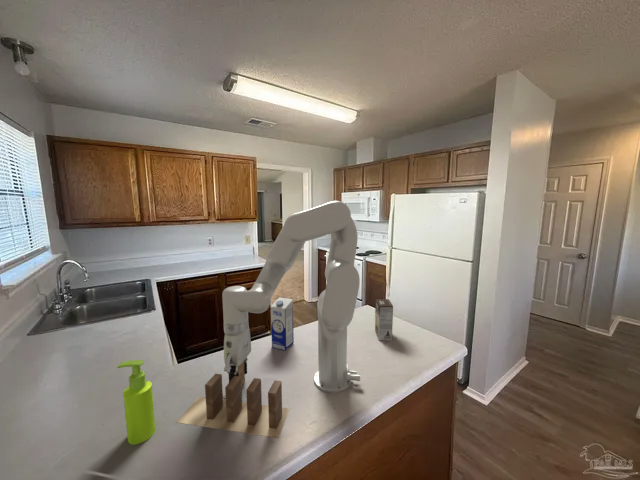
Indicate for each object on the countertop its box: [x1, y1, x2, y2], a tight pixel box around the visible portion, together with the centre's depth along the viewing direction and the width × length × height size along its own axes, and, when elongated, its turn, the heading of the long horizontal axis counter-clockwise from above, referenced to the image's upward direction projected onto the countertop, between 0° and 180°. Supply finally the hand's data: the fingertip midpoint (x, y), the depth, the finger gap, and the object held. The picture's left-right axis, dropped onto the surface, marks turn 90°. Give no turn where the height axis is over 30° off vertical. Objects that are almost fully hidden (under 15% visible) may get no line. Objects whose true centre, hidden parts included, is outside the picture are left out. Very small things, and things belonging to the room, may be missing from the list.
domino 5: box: [267, 380, 283, 429], centre depth 71 cm, size 2×5×10 cm, turn 170°
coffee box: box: [374, 298, 394, 341], centre depth 120 cm, size 9×6×16 cm
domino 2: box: [231, 361, 246, 387], centre depth 85 cm, size 2×5×10 cm, turn 170°
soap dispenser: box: [116, 359, 156, 445], centre depth 66 cm, size 6×7×20 cm
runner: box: [176, 396, 291, 439], centre depth 73 cm, size 29×10×1 cm, turn 80°
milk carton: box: [270, 296, 295, 352], centre depth 111 cm, size 7×7×20 cm
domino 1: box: [204, 373, 224, 420], centre depth 74 cm, size 2×5×10 cm, turn 170°
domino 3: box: [224, 376, 243, 423], centre depth 73 cm, size 2×5×10 cm, turn 170°
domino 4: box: [245, 377, 263, 426], centre depth 72 cm, size 2×5×10 cm, turn 170°
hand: (238, 378), depth 86 cm, fingers closed on domino 2, 4 cm apart
